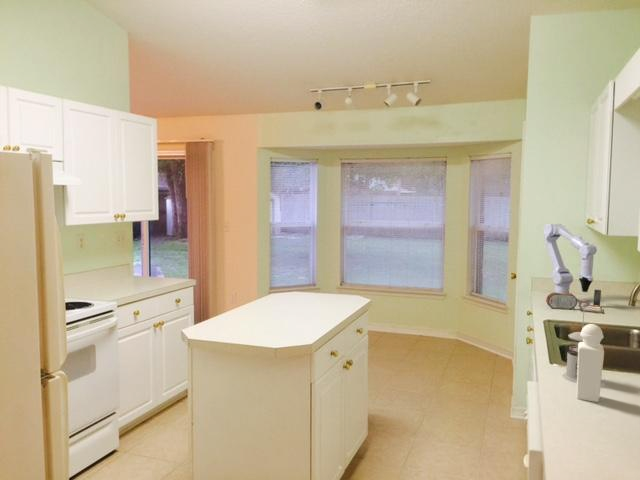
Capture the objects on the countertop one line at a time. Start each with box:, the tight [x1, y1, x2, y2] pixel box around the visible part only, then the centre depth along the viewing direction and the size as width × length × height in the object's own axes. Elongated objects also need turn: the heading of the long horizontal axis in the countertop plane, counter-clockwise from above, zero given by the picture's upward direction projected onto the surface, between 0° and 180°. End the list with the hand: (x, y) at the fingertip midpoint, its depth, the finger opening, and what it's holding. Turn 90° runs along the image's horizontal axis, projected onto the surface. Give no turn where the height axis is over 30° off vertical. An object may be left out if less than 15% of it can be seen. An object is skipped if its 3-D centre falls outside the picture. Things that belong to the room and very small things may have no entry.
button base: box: [578, 298, 591, 308], centre depth 274 cm, size 5×5×3 cm
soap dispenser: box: [576, 323, 605, 403], centre depth 149 cm, size 6×6×22 cm
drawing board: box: [579, 305, 604, 315], centre depth 265 cm, size 12×10×1 cm
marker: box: [592, 289, 602, 307], centre depth 273 cm, size 3×3×9 cm
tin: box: [545, 291, 578, 310], centre depth 266 cm, size 15×3×8 cm, turn 84°
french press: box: [562, 303, 588, 384], centre depth 164 cm, size 10×12×25 cm
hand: (584, 291), depth 273 cm, fingers closed
